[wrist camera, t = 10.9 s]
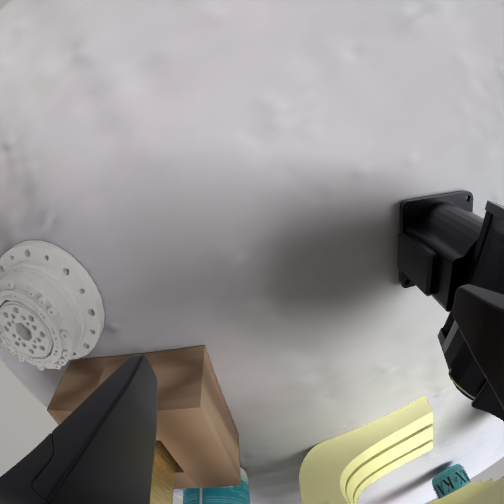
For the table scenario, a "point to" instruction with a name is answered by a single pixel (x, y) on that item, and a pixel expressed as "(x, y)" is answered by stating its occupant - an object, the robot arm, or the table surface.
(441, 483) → the beverage bottle
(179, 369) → the slotted wooden block
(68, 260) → the mechanical component
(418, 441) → the slatted curved stool
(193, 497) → the pill bottle
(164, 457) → the brushed gold block
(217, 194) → the table surface
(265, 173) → the table surface
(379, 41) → the table surface
